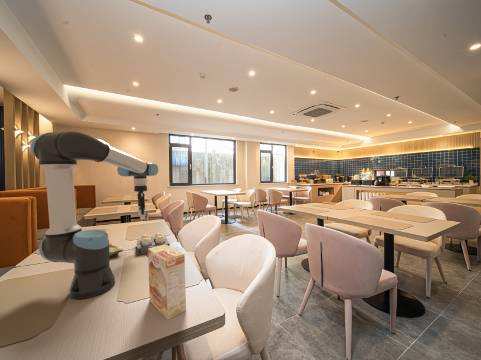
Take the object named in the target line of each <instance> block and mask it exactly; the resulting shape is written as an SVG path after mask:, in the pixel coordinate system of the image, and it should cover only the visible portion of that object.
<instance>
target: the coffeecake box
mask: <svg viewBox="0 0 481 360" xmlns="http://www.w3.org/2000/svg"><path fill="white" fill-rule="evenodd" d="M147 258H148V259H147V260H148V282H149V283H148V284H149V285H148V286H149V293H148V294H149V302H150V303H151V304H152V305H153V306H154V308H156V310H158V312H159V313H160V314H161V315H162V316H163V318H165V319H166V320H167V321H169V320H170V319H172V318H174V317H176V316H177V315H179V314H182V313H184V312H185V311H187V296H186V295H187V294H186V270H185V269H186V261H185V253H183V252H182V251H179V250H178V249H176V248H174V247H172V246H168V245H166V244H164V245H160V246H156V247H152V248H149V249H148V255H147Z"/></svg>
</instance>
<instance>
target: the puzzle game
mask: <svg viewBox="0 0 481 360" xmlns="http://www.w3.org/2000/svg"><path fill="white" fill-rule="evenodd" d="M123 251H124V250H123V249H122V248H121V247H118V246H117V245H115V244H113V243H111V242H109V258H111V257H114V256H117V255H119V254H121V253H123Z"/></svg>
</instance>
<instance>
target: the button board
mask: <svg viewBox="0 0 481 360" xmlns="http://www.w3.org/2000/svg"><path fill="white" fill-rule="evenodd" d="M163 236H164V235H163ZM150 238H151V245H150V246H146V247H142V243H141V239H138V240H136V249H137V251H136V252H137V256H140V255H143V254H144V253H146V254H147V253H148V249H149V248H152V247H156V246H160V245H164V244H166V245H168V246H170V245H171V244H170V242H169V240H168V238H167V237H166V236H164V243H163V244H158V245H157V244H156V241H155V237H150ZM170 247H171V246H170ZM139 254H140V255H139ZM144 255H145V254H144Z"/></svg>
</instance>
